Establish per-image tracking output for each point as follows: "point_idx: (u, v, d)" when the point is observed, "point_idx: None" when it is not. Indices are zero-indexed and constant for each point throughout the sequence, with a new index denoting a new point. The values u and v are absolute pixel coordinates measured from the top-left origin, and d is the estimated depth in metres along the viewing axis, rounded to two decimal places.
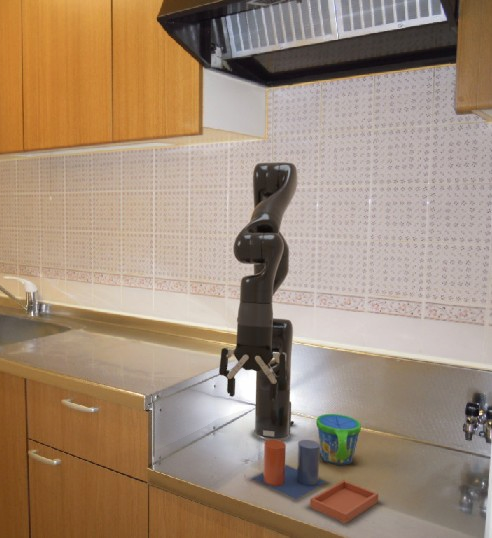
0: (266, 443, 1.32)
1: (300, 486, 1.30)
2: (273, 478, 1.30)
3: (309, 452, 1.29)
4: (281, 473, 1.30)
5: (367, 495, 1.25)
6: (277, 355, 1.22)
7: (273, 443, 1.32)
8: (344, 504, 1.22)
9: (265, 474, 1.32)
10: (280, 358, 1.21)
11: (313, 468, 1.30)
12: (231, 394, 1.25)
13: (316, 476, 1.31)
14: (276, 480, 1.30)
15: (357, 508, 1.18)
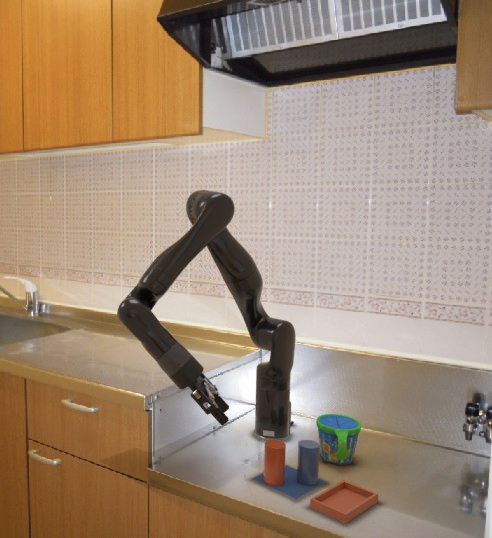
0: (266, 443, 1.32)
1: (300, 486, 1.30)
2: (273, 478, 1.30)
3: (309, 452, 1.29)
4: (281, 473, 1.30)
5: (367, 495, 1.25)
6: None
7: (273, 443, 1.32)
8: (344, 504, 1.22)
9: (265, 474, 1.32)
10: None
11: (313, 468, 1.30)
12: None
13: (316, 476, 1.31)
14: (276, 480, 1.30)
15: (357, 508, 1.18)
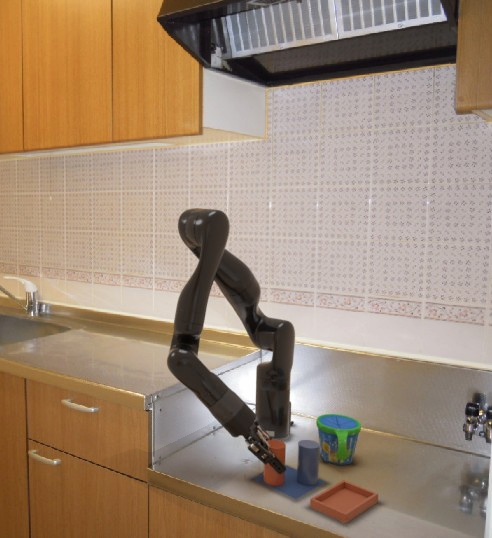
0: None
1: (300, 486, 1.30)
2: (273, 478, 1.30)
3: (309, 452, 1.29)
4: None
5: (367, 495, 1.25)
6: None
7: (273, 443, 1.32)
8: (344, 504, 1.22)
9: (265, 474, 1.32)
10: None
11: (313, 468, 1.30)
12: None
13: (316, 476, 1.31)
14: (276, 480, 1.30)
15: (357, 508, 1.18)
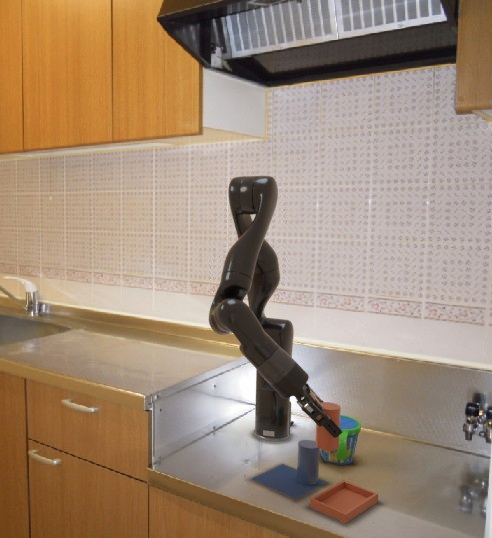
0: None
1: (300, 486, 1.30)
2: (327, 442, 1.21)
3: (309, 452, 1.29)
4: None
5: (367, 495, 1.25)
6: None
7: (326, 405, 1.23)
8: (344, 504, 1.22)
9: (318, 438, 1.22)
10: None
11: (313, 468, 1.30)
12: None
13: (316, 476, 1.31)
14: (331, 444, 1.21)
15: (357, 508, 1.18)
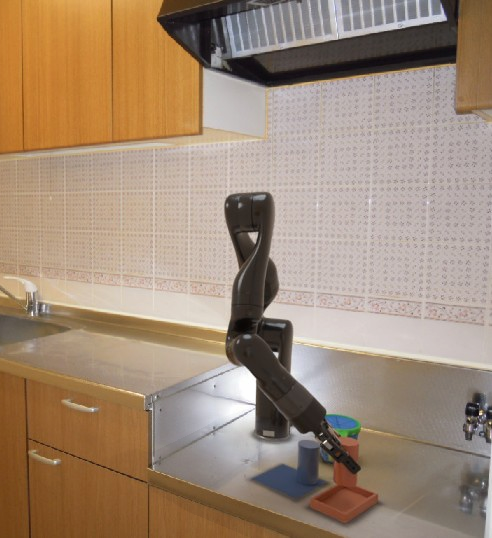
0: None
1: (300, 486, 1.30)
2: (346, 478, 1.19)
3: (309, 452, 1.29)
4: None
5: (367, 495, 1.25)
6: None
7: (344, 440, 1.21)
8: (344, 504, 1.22)
9: (336, 474, 1.21)
10: None
11: (313, 468, 1.30)
12: None
13: (316, 476, 1.31)
14: (349, 480, 1.19)
15: (357, 508, 1.18)
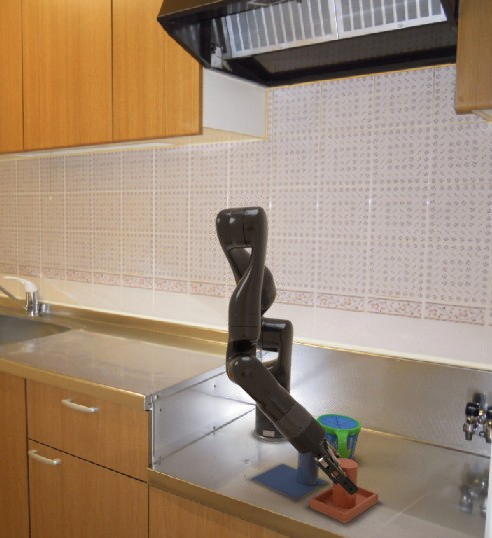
0: None
1: (300, 486, 1.30)
2: (345, 500, 1.20)
3: (309, 452, 1.29)
4: (353, 495, 1.20)
5: (367, 495, 1.25)
6: None
7: (343, 462, 1.22)
8: None
9: (335, 496, 1.21)
10: None
11: (313, 468, 1.30)
12: None
13: (316, 476, 1.31)
14: (348, 502, 1.20)
15: (357, 508, 1.18)
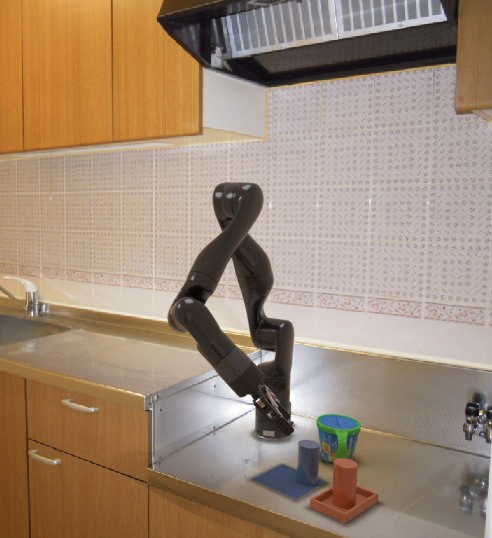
0: (336, 462, 1.21)
1: (300, 486, 1.30)
2: (345, 500, 1.20)
3: (309, 452, 1.29)
4: (353, 495, 1.20)
5: (367, 495, 1.25)
6: None
7: (343, 462, 1.22)
8: None
9: (335, 496, 1.21)
10: None
11: (313, 468, 1.30)
12: None
13: (316, 476, 1.31)
14: (348, 502, 1.20)
15: (357, 508, 1.18)
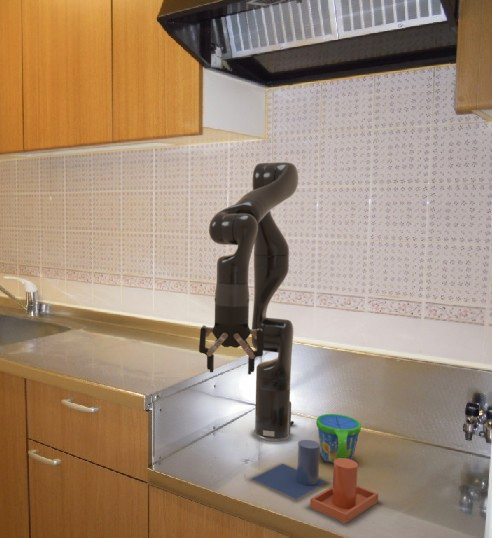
0: (336, 462, 1.21)
1: (300, 486, 1.30)
2: (345, 500, 1.20)
3: (309, 452, 1.29)
4: (353, 495, 1.20)
5: (367, 495, 1.25)
6: (254, 331, 1.27)
7: (343, 462, 1.22)
8: None
9: (335, 496, 1.21)
10: (257, 334, 1.27)
11: (313, 468, 1.30)
12: (211, 370, 1.30)
13: (316, 476, 1.31)
14: (348, 502, 1.20)
15: (357, 508, 1.18)
